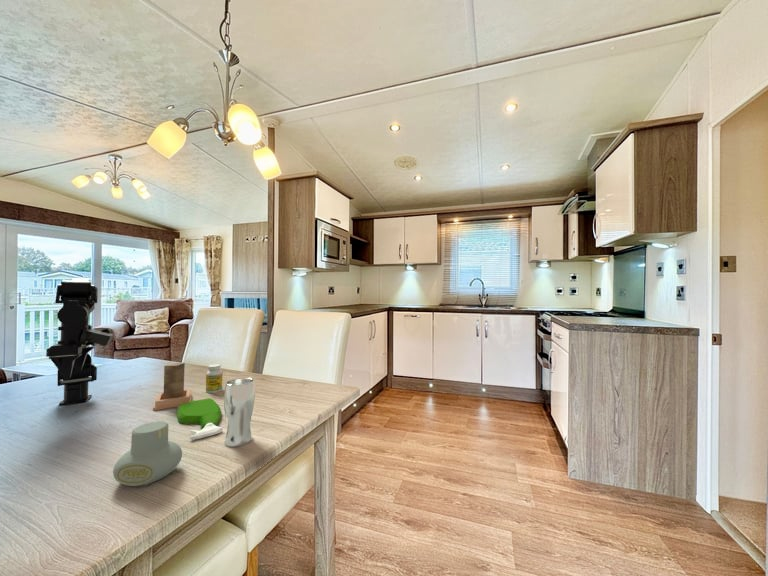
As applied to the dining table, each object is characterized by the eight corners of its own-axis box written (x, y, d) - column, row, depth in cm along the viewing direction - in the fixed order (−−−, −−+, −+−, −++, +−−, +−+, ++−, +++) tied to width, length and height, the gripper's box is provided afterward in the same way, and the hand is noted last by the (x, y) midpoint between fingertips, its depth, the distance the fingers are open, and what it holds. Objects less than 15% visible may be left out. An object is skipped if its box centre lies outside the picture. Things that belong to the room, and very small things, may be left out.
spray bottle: (214, 405, 99) (232, 434, 80) (174, 413, 92) (183, 446, 73) (215, 396, 99) (232, 423, 80) (175, 403, 92) (183, 434, 73)
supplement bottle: (221, 387, 116) (222, 363, 116) (222, 391, 111) (223, 366, 112) (205, 390, 113) (206, 364, 113) (206, 394, 108) (206, 367, 109)
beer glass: (230, 434, 78) (231, 377, 78) (257, 434, 79) (258, 377, 79) (217, 448, 71) (219, 385, 72) (247, 447, 72) (249, 385, 72)
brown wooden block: (163, 402, 98) (164, 365, 98) (171, 397, 102) (172, 362, 102) (175, 402, 98) (176, 365, 98) (183, 398, 102) (184, 362, 102)
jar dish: (156, 400, 102) (157, 392, 102) (191, 395, 107) (192, 388, 107) (152, 410, 93) (153, 402, 93) (190, 404, 98) (191, 397, 98)
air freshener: (188, 463, 65) (190, 417, 65) (165, 488, 57) (167, 435, 57) (134, 466, 64) (135, 419, 64) (102, 491, 55) (104, 437, 56)
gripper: (102, 324, 85) (100, 378, 85) (118, 319, 101) (116, 365, 101) (46, 326, 80) (44, 384, 79) (72, 320, 95) (70, 368, 95)
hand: (73, 374), depth 89 cm, fingers open, 9 cm apart
